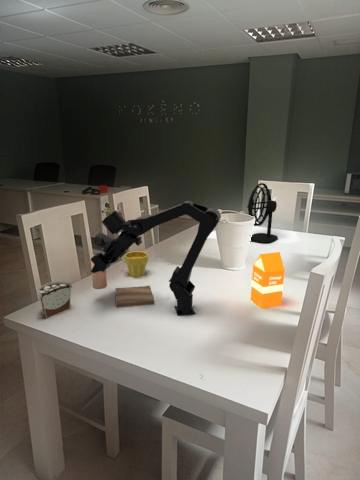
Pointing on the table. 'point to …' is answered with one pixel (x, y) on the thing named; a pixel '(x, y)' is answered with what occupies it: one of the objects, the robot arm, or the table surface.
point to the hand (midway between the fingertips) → (95, 269)
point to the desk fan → (269, 207)
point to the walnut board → (134, 296)
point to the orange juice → (267, 280)
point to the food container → (55, 298)
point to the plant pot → (136, 263)
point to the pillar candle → (99, 278)
